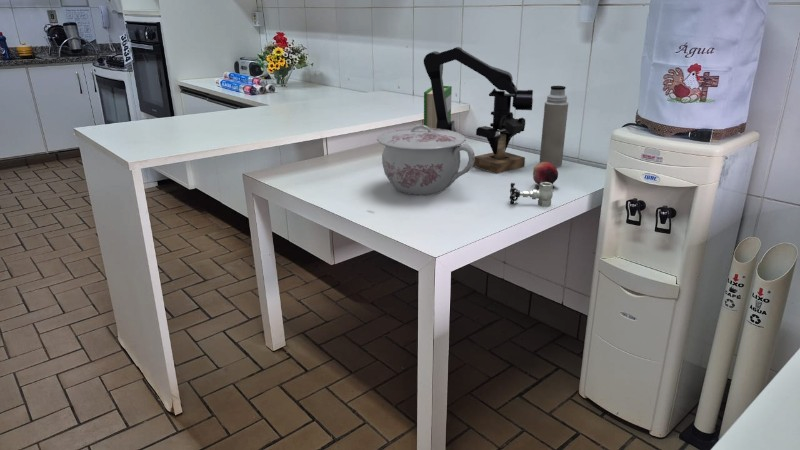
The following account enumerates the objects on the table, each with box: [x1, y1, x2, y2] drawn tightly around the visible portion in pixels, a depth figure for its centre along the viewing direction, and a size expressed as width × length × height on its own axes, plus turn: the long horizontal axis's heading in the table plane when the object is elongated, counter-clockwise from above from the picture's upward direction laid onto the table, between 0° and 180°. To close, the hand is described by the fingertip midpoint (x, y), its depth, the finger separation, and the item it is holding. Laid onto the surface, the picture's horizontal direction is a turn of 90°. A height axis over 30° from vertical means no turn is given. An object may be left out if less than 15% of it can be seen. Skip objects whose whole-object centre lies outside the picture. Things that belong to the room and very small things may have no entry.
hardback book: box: [423, 85, 453, 128], centre depth 217 cm, size 18×7×24 cm, turn 165°
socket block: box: [472, 151, 526, 175], centre depth 198 cm, size 14×12×4 cm
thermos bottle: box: [538, 85, 569, 168], centre depth 195 cm, size 8×8×28 cm
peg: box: [493, 133, 506, 160], centre depth 196 cm, size 4×4×9 cm
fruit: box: [532, 162, 559, 186], centre depth 175 cm, size 8×8×8 cm
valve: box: [509, 182, 554, 208], centre depth 160 cm, size 7×7×12 cm
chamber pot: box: [376, 124, 476, 196], centre depth 172 cm, size 28×28×21 cm
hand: (499, 153), depth 197 cm, fingers closed on peg, 4 cm apart
